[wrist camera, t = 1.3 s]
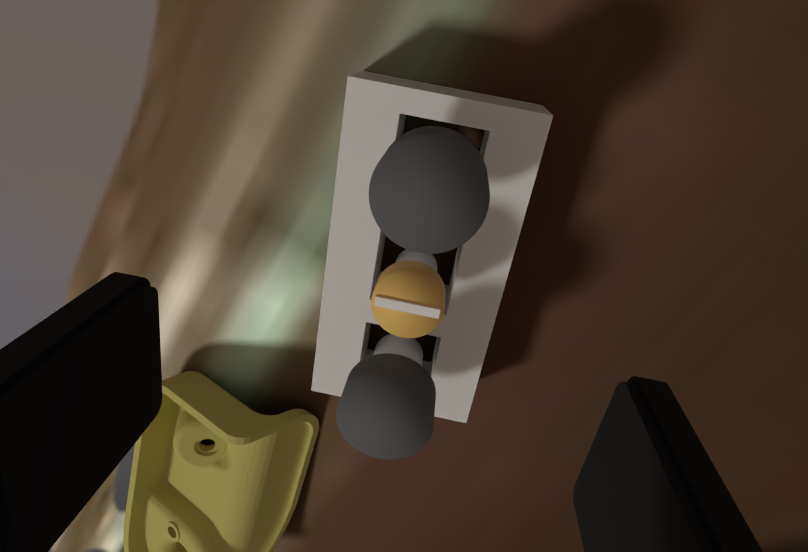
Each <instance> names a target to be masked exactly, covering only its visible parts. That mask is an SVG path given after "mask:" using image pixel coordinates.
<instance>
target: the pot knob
mask: <svg viewBox="0 0 808 552" xmlns="http://www.w3.org/2000/svg"><path fill="white" fill-rule="evenodd" d="M445 297H446V291H445V285H444V282H443V280H442V278H441V277H440V275H439V274H438V273H437V262H436V260H435V258H434V256H433V255H432V254H424V253H417V252H413V251H410V250H407V249H406V250H404V251H403V252H401V253H400V254H399V256H398V257H397V259H396V262H395V263H394V264H392V265H390V266H389V267H387V268H386V269H385V270H384V271H383V272H382V273H381V275H380V276H379V278H378V281H377V283H376V286H375V289H374V291H373V294H372V298H371V309H372V313H373V316H374V318H375V320H376V321H377V323H378V324H379V325H380V326H381V327H382V328H383V329H384V330H386V331H387V332H389V333H390V334H392V335H395V336H398V337H402V338H417V337H421V336H424V335H426V334H428V333H430V332H432V331H433V330H434V329H435V328H436V327H437V326H438V325H439V323H440V322H441V320H442V318H443V315H444V309H445Z"/></svg>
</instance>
